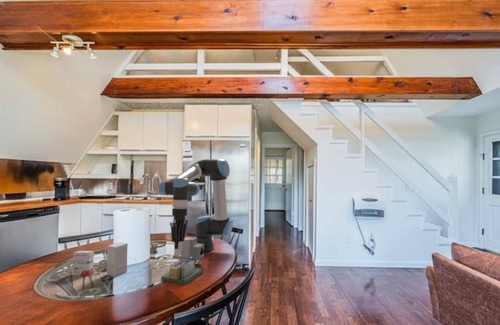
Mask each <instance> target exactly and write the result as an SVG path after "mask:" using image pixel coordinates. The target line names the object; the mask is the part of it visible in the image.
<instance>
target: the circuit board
mask: <svg viewBox="0 0 500 325" xmlns="http://www.w3.org/2000/svg"><path fill="white" fill-rule="evenodd" d="M203 273H204V268H199V267H196V263H195V261H191V260H186V261H185V263H183V260H179V259H178V260H177V261H175V262H173V263H171V264H170V265H169V272H167V273H165V274H163V275H162V276H160V281H161V282H168V283H175V284H180V285H185V286H186V285H188V284H189V283H191V281H193V280H194V279H196V278H197V277H199V276H200V275H202V274H203Z"/></svg>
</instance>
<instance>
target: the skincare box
mask: <svg viewBox="0 0 500 325" xmlns="http://www.w3.org/2000/svg"><path fill="white" fill-rule="evenodd" d="M128 245H129V244H128V243H126V242H121V241H119V242H115V243H112V244H109V245H107V255H106V275H107V276H111V277H114V278H115V277H118V276H120V275H122V274H125V273H127V272H128Z"/></svg>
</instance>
